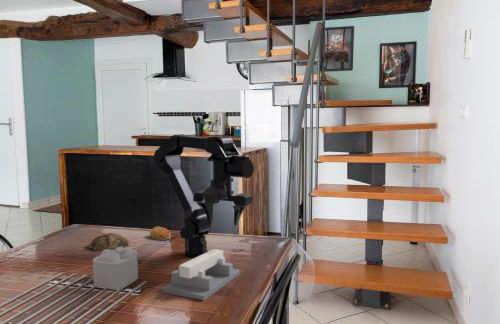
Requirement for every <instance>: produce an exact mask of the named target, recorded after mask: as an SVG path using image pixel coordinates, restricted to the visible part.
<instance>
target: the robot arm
mask: <svg viewBox="0 0 500 324" xmlns="http://www.w3.org/2000/svg"><path fill="white" fill-rule="evenodd" d="M184 148H189V149H198V150H203V151H205V152H206V153H208V154H210V156H209V157H208V158H206V159H207V160H206V161H207V162H212V179H210V186H207V188H206V189H205V190H204V189H203V190H198V191H195V192H194V193H193V192H192V190H191V188H190V186H189V184H188V182H187V180H186V178H185V175H184V173H183V171H182V170H181V162H182V161H181V158H180V156H182V154H183V153H184ZM153 161H154V163H155V164H156V166H157V168H158V169H159V170H160V171H161V172H163V173H164V174H166V177H167V178H168V180H169V182H170V184H171V185H172V188H173V190H174V192H175V195H176V197H177V199H178V201H179V203H180V204H181V207H182V209H183V211H184V212H183V213H184V214H183V216H184V217H183V222H184V224H185V225H184V226H183V228H182V229H181V230H180V231H179V234H180V238H181V239H184V252H182V256H187V257H193V258H196V257H198V256H200V255H202V254H204V253H206V252H208V251H209V250H208V249H207V247H208V245H207V240H206V235H209V232H210V229H211V227H212V224H213V216H214V215H213V214H214V205H215V204H218V203H219V202H220V201H222V202H224V201H225V202H233V204H234V205H232V209H233V213H234V214H233V224H234V227H236V226H238V224H239V222H240V220H241V217H242V214H243V212H244V210H245V209H246V207H247V206H249V205H250V204H252V203H253V196H252V194H251V193H243V192H242V193H241V192H239V193H238V194H235V195H234V190H232V182H234V178H240V179H241V178H242V179H250V178H251V177H252V175H253V174H254V164H253V162H252V160H251V159H250V155H242V154H241V153H240V152H239V150H238V148H237V146H236V145H235V143H234V140H233V138H232V137H231V136H230V135H217V136H215V135H214V136H209V137H208V136H207V137H206V136H205V137H204V136H196V135H195V136H194V135H186V134H173V135H172V136H170V138H169V139H168V140H167V141H165V142H164V143H163V144H161V145H160V146H159V147H158V148H157V149H156V150H155V152H154V154H153Z"/></svg>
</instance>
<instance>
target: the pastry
mask: <svg viewBox="0 0 500 324" xmlns="http://www.w3.org/2000/svg"><path fill="white" fill-rule="evenodd" d="M149 235H150V238H152V239H153V240H157V241H167V240H170V239H171V238H172V235H171V232H170V230H168V229H167V227H161V226H155V227H153V228H152V229H151V230H150V231H149Z"/></svg>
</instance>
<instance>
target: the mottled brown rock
mask: <svg viewBox="0 0 500 324" xmlns="http://www.w3.org/2000/svg"><path fill="white" fill-rule="evenodd" d="M129 242H130V241H129V240H128V239H127V238H125V237H124V236H122V235H121V234H119V233H113V232H112V233H111V232H108V233H101V234H100V235H98V236H96V237H95V238H93V239H92V240H91V241H90V243H89V245H88V247H89V248H90V249H92V250H93V251H94V252H96V251H101V252H102V251H103V250H105V249H109V250H114V249H116V248H118V247H123V248H127V247H128V246H129V245H130V244H129Z"/></svg>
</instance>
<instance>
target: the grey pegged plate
mask: <svg viewBox="0 0 500 324" xmlns="http://www.w3.org/2000/svg"><path fill="white" fill-rule="evenodd" d="M233 264H234V263H231V262H226V257H225V256H224V257H221V258H219V263H218V264H216V265H214V266H212V267H211V268H209V269H207V270H202V269H201V270H199V271H198V275H196V276H194V277H192V278H190V279H189V278H185V277H180V273H179V267H178V270H177V269H176V270H173V271H172V272H170V278H171V281H170V282H169V283H167V284H166V285H164V286H162V287H161V292H162V293H165V294H171V295H176V296H180V297H184V298H189V299H195V300H200V301H204V302H205V300H207V299H208V298H210V296H211V297H212V295H213V294H215V293H216V292H217V291H219V290H220V289H222V288H223V287H225V286H226V285H227V284H228V283H230V282H231V281H232V280H233V279H235V278H236V277H238V276H240V275H241V270H240V269H236V268H234V266H233Z"/></svg>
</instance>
